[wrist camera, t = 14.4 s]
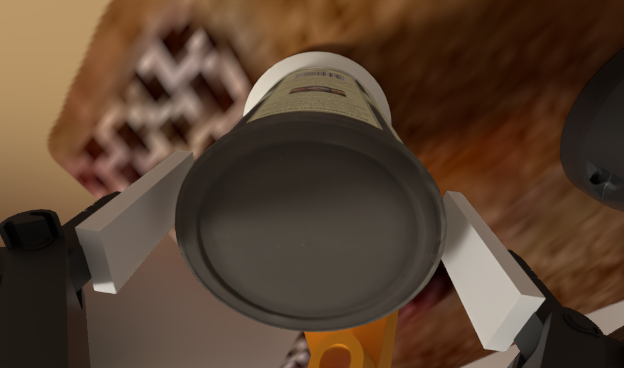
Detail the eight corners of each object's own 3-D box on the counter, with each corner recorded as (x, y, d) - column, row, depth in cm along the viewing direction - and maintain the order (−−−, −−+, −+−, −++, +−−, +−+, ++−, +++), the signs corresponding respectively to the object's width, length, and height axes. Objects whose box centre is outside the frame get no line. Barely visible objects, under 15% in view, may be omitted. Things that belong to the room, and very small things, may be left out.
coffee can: (289, 203, 27) (255, 353, 14) (232, 98, 22) (113, 183, 10) (398, 164, 24) (471, 304, 12) (357, 40, 20) (406, 55, 8)
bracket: (366, 245, 30) (386, 361, 20) (393, 289, 33) (424, 410, 23) (281, 280, 33) (260, 396, 23) (313, 317, 36) (307, 436, 26)
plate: (406, 64, 22) (410, 65, 21) (370, 198, 27) (371, 205, 26) (248, 39, 22) (244, 40, 20) (245, 180, 27) (241, 186, 26)
